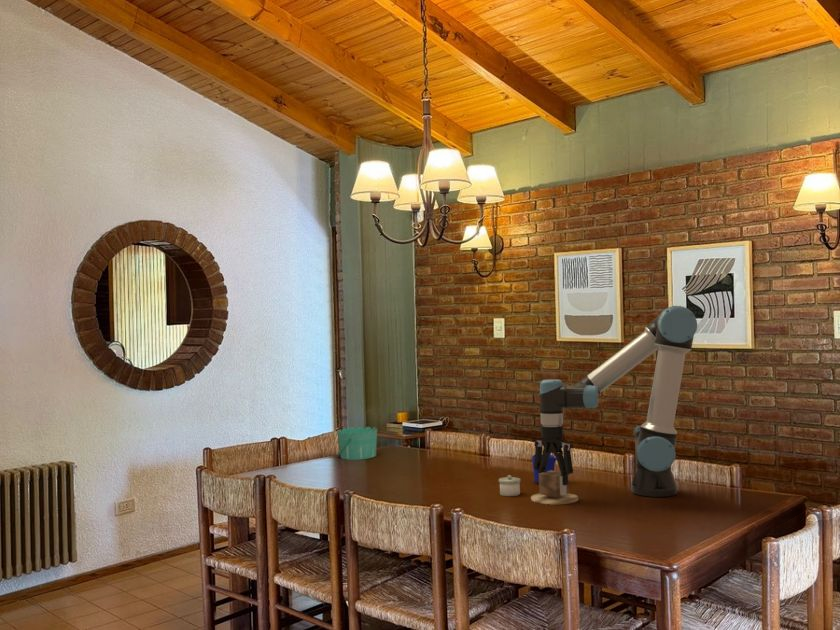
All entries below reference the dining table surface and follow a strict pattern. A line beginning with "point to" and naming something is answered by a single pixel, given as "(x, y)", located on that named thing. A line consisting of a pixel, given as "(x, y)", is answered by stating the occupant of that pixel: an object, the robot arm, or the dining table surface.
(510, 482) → the sugar bowl
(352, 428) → the basket
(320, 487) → the dining table surface
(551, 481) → the block
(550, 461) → the mug
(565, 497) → the trivet
